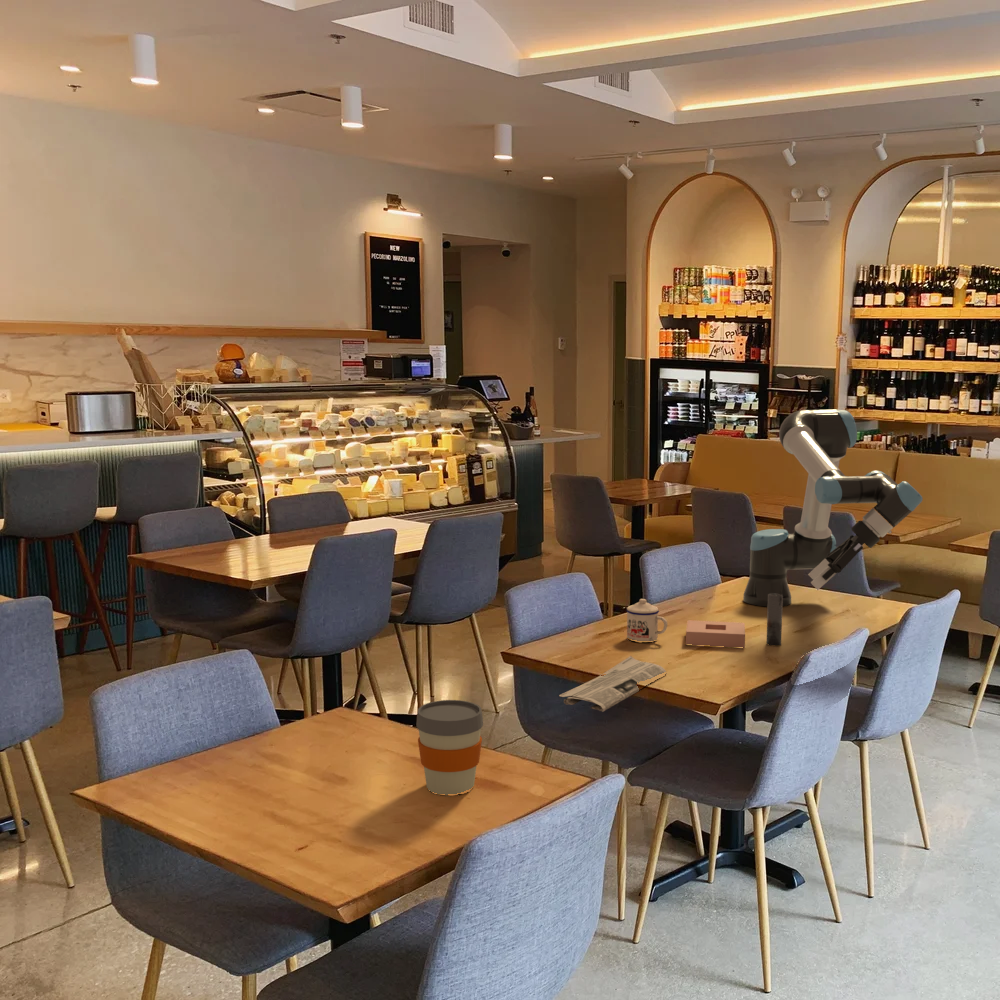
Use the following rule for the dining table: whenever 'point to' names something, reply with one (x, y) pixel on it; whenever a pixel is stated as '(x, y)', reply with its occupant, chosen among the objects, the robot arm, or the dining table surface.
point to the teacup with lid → (643, 621)
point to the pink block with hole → (715, 633)
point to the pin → (774, 619)
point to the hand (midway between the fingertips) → (812, 582)
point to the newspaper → (614, 684)
